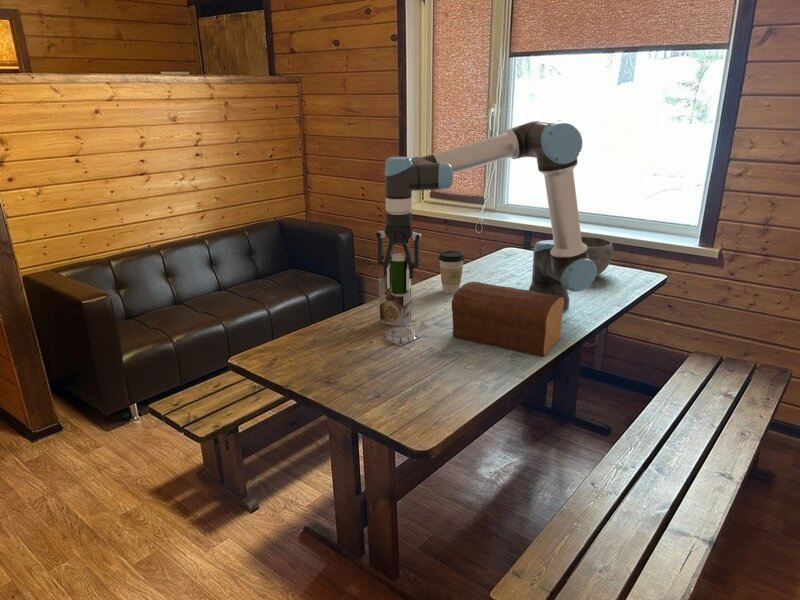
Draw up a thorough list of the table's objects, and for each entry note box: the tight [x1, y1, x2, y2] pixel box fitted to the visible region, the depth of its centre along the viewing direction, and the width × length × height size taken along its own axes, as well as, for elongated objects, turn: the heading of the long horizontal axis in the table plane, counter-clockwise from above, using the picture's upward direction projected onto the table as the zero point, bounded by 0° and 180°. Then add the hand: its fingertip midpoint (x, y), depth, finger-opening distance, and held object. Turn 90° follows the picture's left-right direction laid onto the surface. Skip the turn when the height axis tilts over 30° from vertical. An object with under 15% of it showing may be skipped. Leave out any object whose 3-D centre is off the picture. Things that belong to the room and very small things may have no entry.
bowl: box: [581, 236, 614, 277], centre depth 235 cm, size 21×21×15 cm
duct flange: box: [380, 326, 422, 347], centre depth 181 cm, size 9×9×2 cm
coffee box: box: [378, 274, 412, 327], centre depth 191 cm, size 9×6×16 cm
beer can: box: [389, 252, 409, 296], centre depth 175 cm, size 5×5×12 cm
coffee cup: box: [438, 250, 465, 295], centre depth 220 cm, size 10×10×15 cm
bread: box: [451, 281, 564, 357], centre depth 178 cm, size 18×30×16 cm, turn 59°
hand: (399, 287), depth 176 cm, fingers closed on beer can, 5 cm apart
